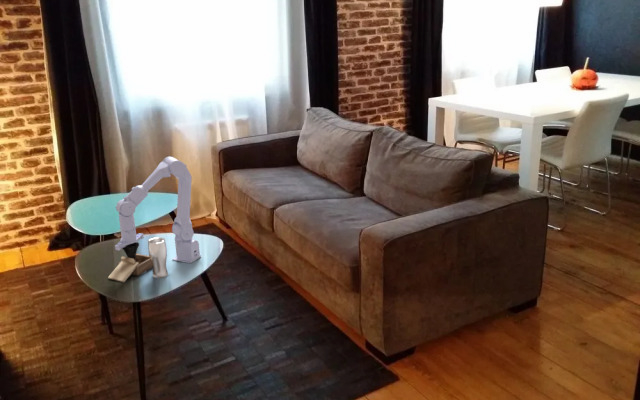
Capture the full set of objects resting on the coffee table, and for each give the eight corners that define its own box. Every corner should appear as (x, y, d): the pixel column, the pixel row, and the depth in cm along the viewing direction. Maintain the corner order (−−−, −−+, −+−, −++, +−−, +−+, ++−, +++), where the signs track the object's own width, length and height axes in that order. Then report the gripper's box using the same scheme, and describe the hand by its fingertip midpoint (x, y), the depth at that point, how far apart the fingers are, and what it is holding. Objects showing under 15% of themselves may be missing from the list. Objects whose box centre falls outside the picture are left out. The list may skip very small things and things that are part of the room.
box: (155, 265, 253) (154, 256, 252) (138, 276, 243) (137, 266, 242) (136, 262, 257) (135, 253, 256) (118, 272, 247) (117, 263, 246)
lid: (138, 263, 245) (136, 258, 243) (124, 282, 238) (121, 277, 236) (123, 260, 248) (120, 255, 246) (108, 278, 241) (105, 273, 240)
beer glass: (160, 280, 239) (156, 244, 235) (147, 276, 243) (143, 241, 238) (172, 273, 245) (169, 239, 240) (160, 270, 248) (156, 236, 244)
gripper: (132, 222, 250) (136, 252, 254) (107, 234, 238) (111, 265, 242) (146, 224, 247) (149, 255, 252) (121, 236, 235) (125, 268, 239)
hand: (132, 260), depth 246 cm, fingers closed
